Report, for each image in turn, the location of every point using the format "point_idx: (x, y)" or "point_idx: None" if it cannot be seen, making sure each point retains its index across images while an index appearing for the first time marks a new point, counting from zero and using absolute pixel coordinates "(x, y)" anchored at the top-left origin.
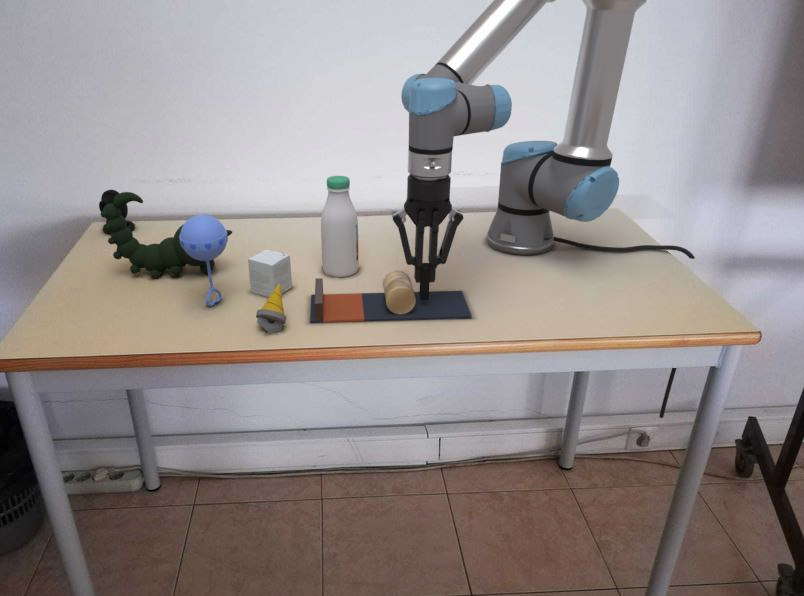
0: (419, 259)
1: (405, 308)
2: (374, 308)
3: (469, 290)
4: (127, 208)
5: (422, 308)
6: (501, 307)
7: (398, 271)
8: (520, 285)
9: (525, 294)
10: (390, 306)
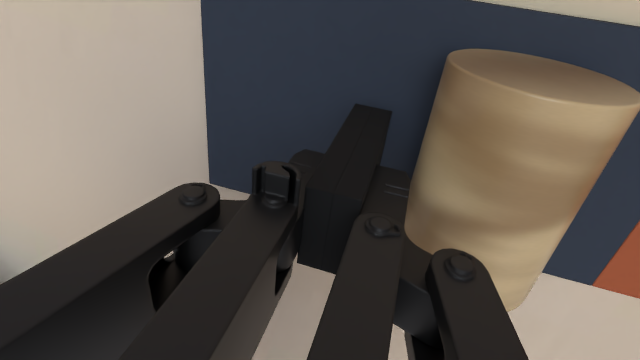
0: (371, 260)
1: (501, 56)
2: (622, 148)
3: None
4: None
5: (391, 88)
6: (92, 35)
7: None
8: (45, 167)
9: (26, 109)
10: (594, 76)
